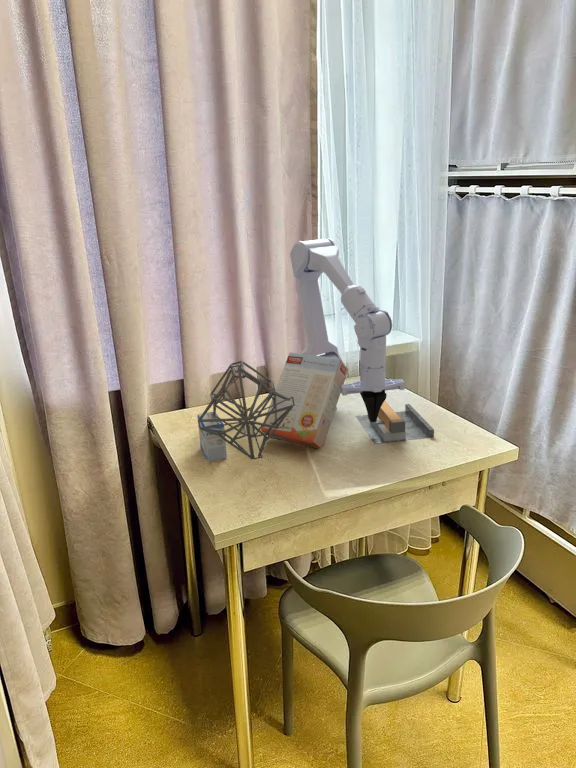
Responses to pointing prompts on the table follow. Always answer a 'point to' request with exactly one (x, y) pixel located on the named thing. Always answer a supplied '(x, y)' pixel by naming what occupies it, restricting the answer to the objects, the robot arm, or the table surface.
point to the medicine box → (212, 440)
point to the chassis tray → (413, 426)
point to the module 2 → (390, 434)
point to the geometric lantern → (245, 410)
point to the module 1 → (377, 423)
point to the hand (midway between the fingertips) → (372, 420)
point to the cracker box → (307, 398)
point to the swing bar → (391, 419)
